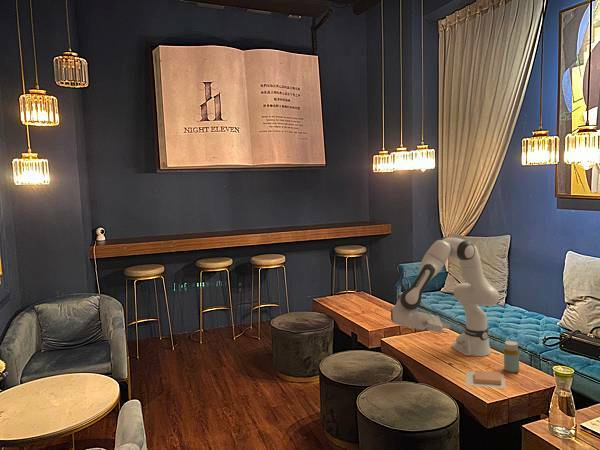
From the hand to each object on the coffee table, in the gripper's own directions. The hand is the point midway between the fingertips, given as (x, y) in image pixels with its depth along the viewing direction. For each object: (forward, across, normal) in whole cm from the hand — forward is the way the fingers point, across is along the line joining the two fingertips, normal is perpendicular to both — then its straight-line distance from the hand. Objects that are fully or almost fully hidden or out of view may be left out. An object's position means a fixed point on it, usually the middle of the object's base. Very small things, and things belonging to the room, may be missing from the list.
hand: (449, 326), depth 244 cm
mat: (+21, -3, +22) cm, 31 cm away
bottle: (+35, +8, +18) cm, 41 cm away
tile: (+16, -3, +22) cm, 27 cm away
